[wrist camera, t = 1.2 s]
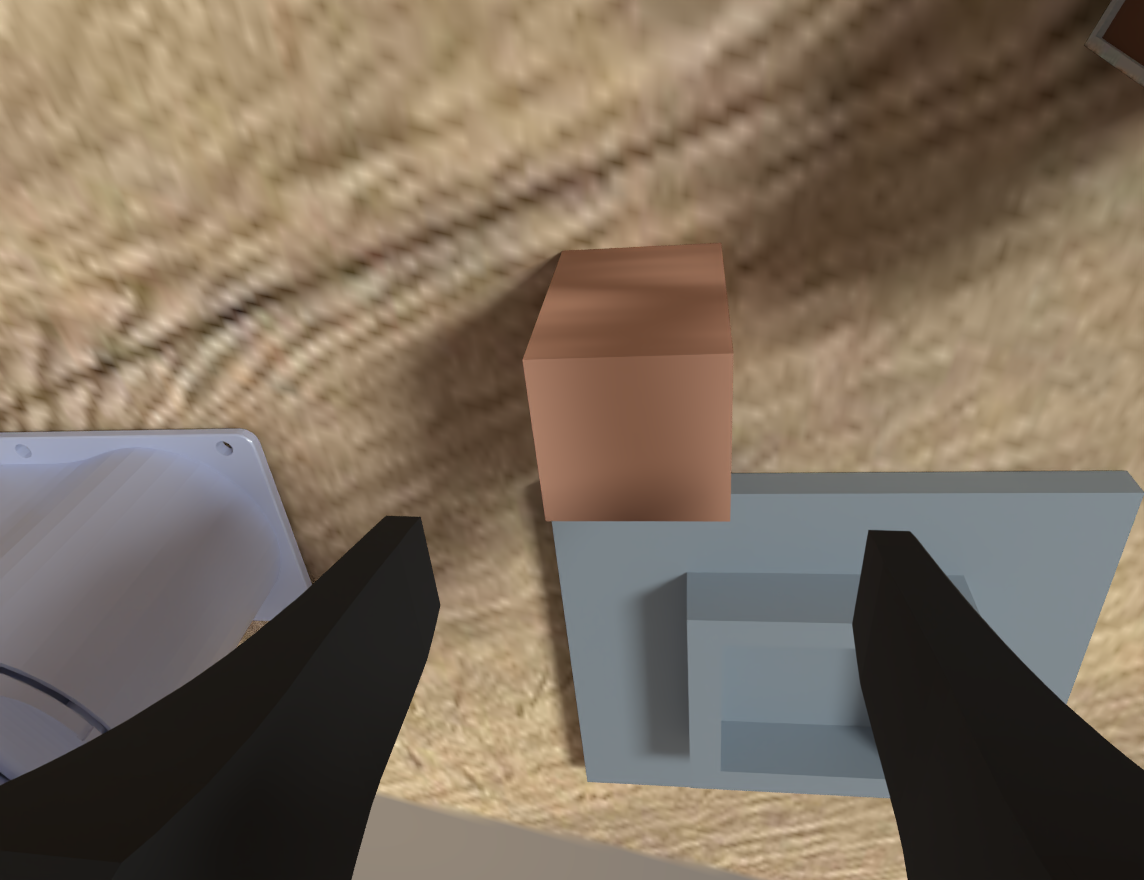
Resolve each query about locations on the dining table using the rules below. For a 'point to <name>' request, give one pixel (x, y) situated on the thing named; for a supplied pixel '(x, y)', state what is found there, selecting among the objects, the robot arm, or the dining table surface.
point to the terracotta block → (634, 386)
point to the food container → (1121, 37)
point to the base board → (811, 615)
